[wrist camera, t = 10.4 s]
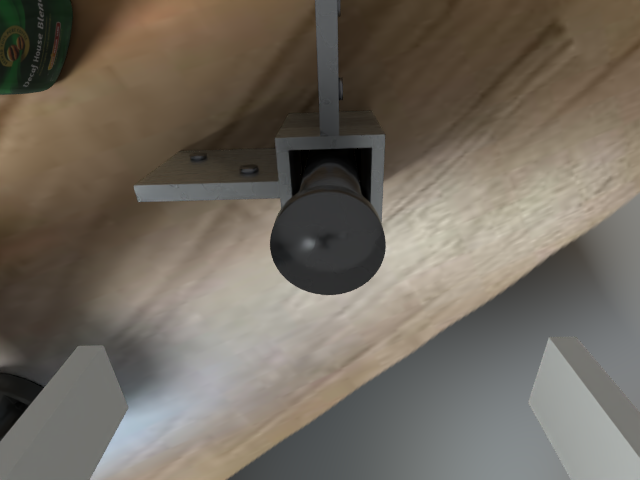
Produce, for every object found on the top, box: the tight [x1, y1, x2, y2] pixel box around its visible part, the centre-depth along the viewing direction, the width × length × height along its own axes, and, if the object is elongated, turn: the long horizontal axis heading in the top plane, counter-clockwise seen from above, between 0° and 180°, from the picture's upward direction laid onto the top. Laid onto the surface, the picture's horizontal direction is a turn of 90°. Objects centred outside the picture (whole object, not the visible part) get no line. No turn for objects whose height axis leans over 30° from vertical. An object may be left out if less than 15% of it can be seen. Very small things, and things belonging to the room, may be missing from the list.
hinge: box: [133, 0, 385, 223], centre depth 27 cm, size 17×17×9 cm
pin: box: [270, 148, 386, 295], centre depth 26 cm, size 6×6×17 cm
